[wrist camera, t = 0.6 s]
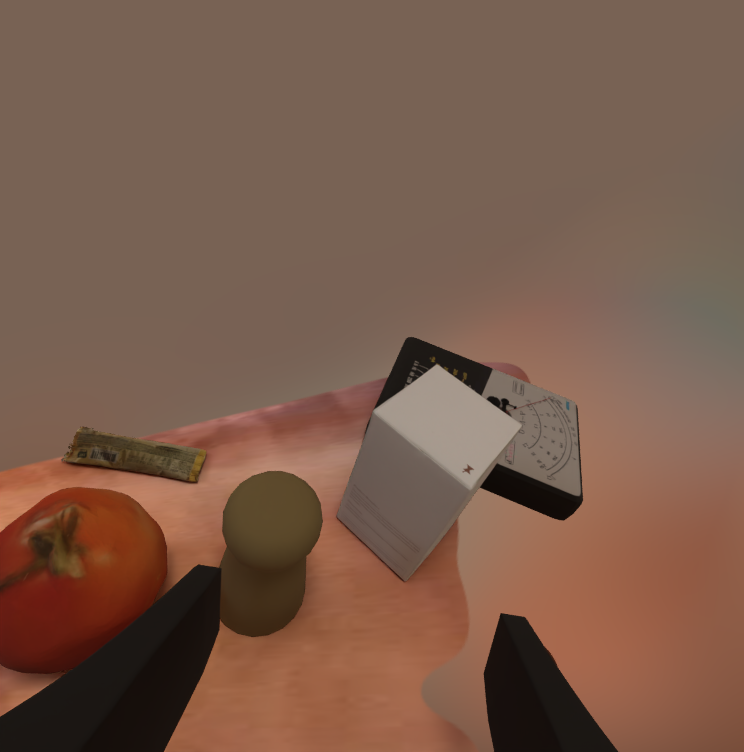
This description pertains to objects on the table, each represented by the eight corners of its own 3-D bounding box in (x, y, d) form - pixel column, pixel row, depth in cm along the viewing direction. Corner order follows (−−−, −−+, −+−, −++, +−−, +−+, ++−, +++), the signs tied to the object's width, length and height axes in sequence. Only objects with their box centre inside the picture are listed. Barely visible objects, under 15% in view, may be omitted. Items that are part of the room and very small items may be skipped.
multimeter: (397, 358, 51) (411, 323, 48) (561, 424, 50) (587, 393, 47) (360, 441, 41) (374, 404, 38) (563, 526, 40) (596, 495, 37)
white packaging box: (456, 521, 38) (528, 426, 29) (404, 585, 33) (472, 493, 25) (390, 463, 40) (438, 360, 32) (331, 514, 36) (370, 409, 27)
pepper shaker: (193, 614, 29) (188, 531, 21) (240, 530, 33) (250, 437, 26) (282, 652, 28) (309, 581, 21) (318, 562, 33) (350, 478, 25)
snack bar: (196, 485, 35) (207, 457, 37) (197, 471, 34) (208, 444, 36) (59, 463, 33) (80, 435, 36) (57, 448, 32) (78, 421, 35)
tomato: (180, 527, 32) (175, 462, 27) (155, 681, 26) (142, 635, 20) (26, 529, 30) (-13, 457, 24) (-43, 699, 23) (-118, 653, 18)
